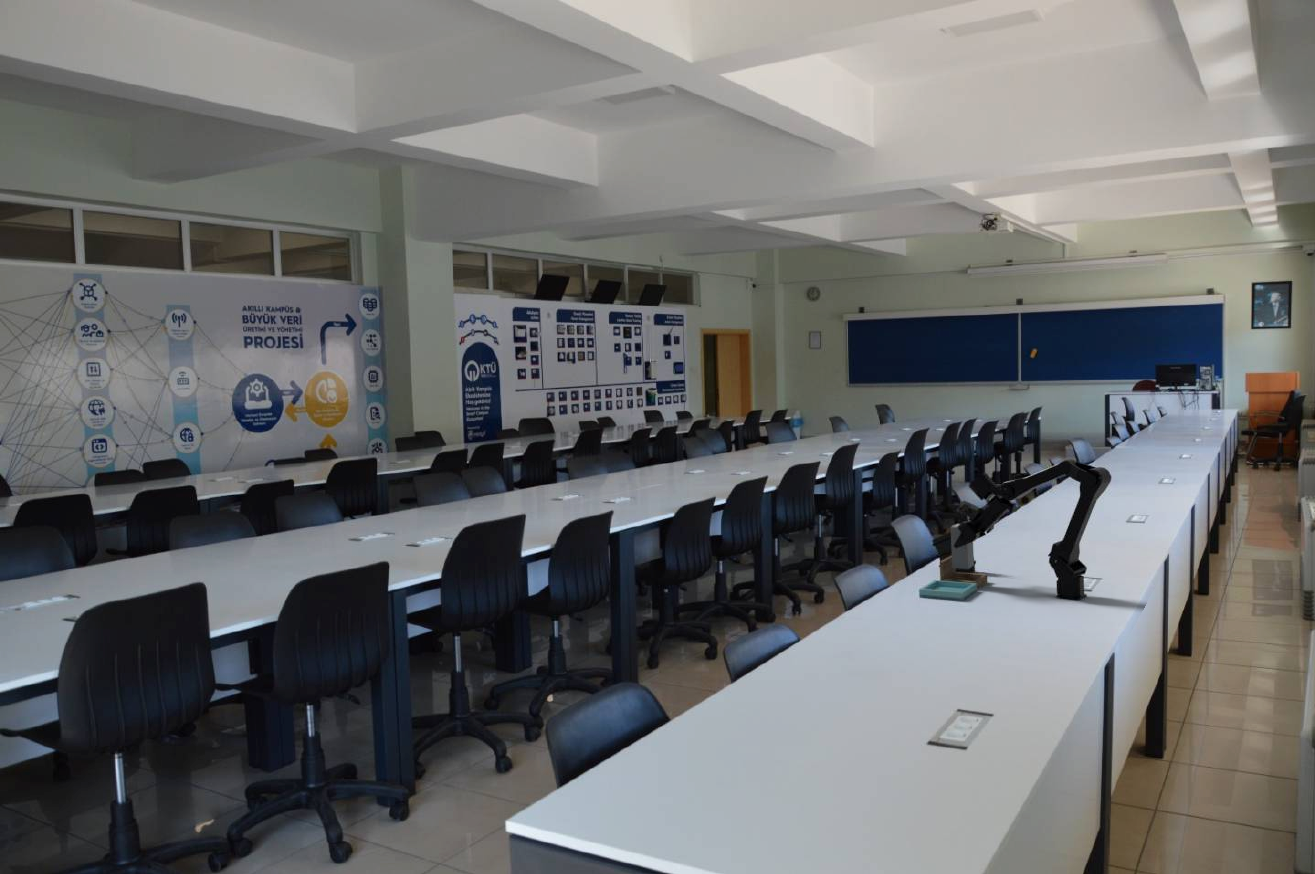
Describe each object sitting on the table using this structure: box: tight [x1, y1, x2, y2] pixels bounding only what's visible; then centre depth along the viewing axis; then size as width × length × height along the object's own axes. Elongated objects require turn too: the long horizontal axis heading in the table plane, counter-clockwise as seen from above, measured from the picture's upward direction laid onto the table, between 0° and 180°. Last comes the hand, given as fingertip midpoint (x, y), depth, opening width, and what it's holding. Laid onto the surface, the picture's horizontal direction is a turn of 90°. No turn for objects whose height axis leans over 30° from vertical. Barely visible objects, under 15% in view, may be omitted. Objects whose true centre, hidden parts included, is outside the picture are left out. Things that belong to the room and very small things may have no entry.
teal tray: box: [918, 579, 978, 602], centre depth 294 cm, size 13×14×2 cm
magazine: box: [931, 531, 977, 574], centre depth 324 cm, size 4×13×15 cm, turn 60°
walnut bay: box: [939, 555, 988, 590], centre depth 304 cm, size 11×12×8 cm
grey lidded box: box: [950, 523, 975, 569], centre depth 304 cm, size 5×6×13 cm
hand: (957, 545), depth 304 cm, fingers closed on grey lidded box, 5 cm apart
